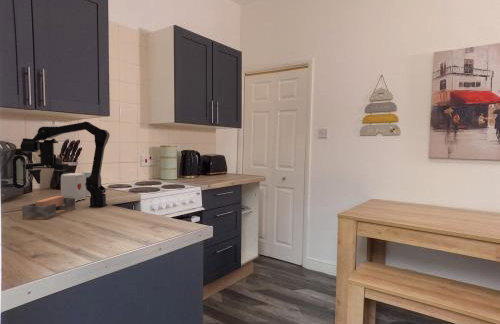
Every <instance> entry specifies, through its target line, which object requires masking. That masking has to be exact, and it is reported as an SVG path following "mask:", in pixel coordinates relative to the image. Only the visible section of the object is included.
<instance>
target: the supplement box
mask: <svg viewBox="0 0 500 324" xmlns="http://www.w3.org/2000/svg"><path fill="white" fill-rule="evenodd" d="M60 196H64V198H75V200H79V199H82V198H85V199H86V197H85V174H82V173H64V174H63V173H62V175H61V178H60Z"/></svg>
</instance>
